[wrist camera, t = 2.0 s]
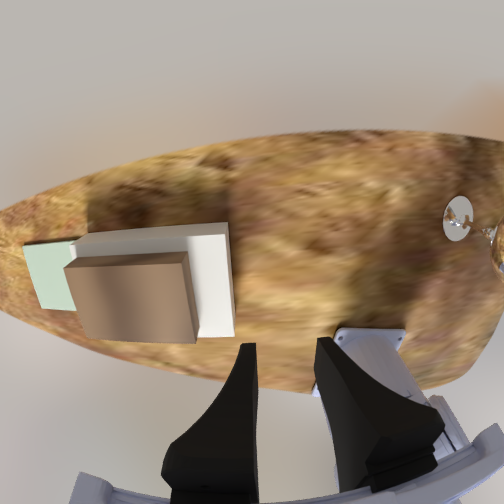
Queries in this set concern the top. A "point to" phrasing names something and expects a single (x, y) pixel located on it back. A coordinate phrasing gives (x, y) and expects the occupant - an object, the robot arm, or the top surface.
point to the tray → (200, 258)
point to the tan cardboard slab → (135, 297)
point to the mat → (50, 273)
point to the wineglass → (461, 221)
